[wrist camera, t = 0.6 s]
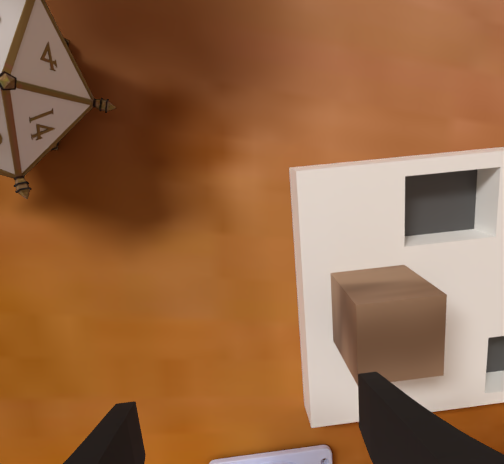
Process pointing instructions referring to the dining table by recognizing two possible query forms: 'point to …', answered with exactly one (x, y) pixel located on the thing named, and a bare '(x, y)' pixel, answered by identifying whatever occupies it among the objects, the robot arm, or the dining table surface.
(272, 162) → the dining table surface
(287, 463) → the robot arm
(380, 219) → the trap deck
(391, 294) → the walnut block
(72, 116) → the game die
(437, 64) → the dining table surface
